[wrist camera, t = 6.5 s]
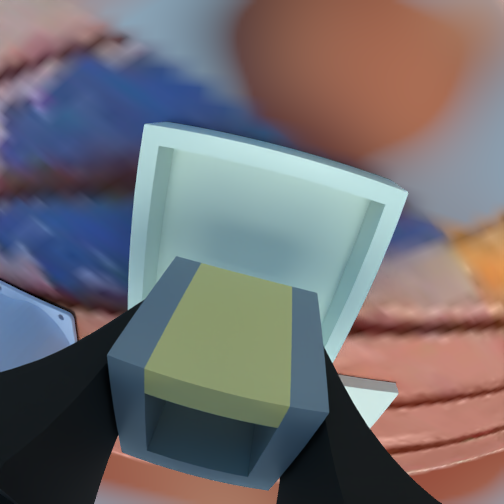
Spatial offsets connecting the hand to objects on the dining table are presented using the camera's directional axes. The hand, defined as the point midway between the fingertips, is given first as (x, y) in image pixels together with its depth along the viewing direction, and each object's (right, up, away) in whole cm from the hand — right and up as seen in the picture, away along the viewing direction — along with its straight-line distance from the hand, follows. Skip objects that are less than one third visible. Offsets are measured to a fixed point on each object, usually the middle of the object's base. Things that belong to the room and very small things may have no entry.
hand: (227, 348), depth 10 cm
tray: (+1, +3, +7) cm, 7 cm away
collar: (0, 0, +1) cm, 1 cm away
